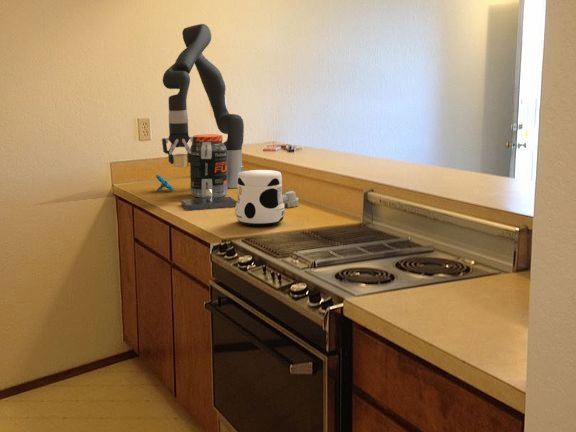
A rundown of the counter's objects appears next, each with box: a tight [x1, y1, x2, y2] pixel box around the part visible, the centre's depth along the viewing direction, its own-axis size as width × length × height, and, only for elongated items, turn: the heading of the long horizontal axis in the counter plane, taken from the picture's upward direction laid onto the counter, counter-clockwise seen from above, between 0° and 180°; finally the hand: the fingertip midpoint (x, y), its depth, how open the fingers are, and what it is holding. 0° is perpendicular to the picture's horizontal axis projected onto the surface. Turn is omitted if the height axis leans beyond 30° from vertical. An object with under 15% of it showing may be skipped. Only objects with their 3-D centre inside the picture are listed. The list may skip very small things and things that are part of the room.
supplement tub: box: [189, 133, 228, 199], centre depth 302 cm, size 16×16×26 cm
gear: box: [155, 174, 174, 192], centre depth 315 cm, size 11×6×10 cm
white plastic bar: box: [282, 190, 299, 208], centre depth 275 cm, size 5×7×25 cm
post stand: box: [180, 189, 237, 211], centre depth 282 cm, size 20×12×6 cm, turn 110°
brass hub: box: [171, 153, 190, 168], centre depth 286 cm, size 6×6×4 cm
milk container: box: [235, 169, 286, 227], centre depth 249 cm, size 17×17×18 cm
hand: (180, 163), depth 286 cm, fingers closed on brass hub, 6 cm apart
